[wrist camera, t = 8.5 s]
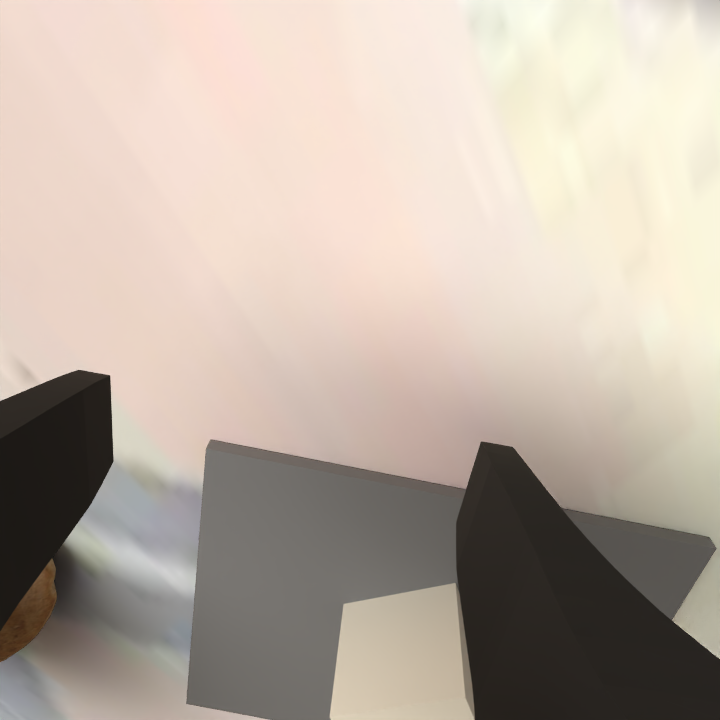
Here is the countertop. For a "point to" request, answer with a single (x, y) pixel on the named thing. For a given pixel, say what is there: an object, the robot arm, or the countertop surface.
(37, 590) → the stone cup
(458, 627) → the cream cube
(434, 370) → the countertop surface
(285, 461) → the charcoal mat
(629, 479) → the countertop surface
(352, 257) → the countertop surface
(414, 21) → the countertop surface
